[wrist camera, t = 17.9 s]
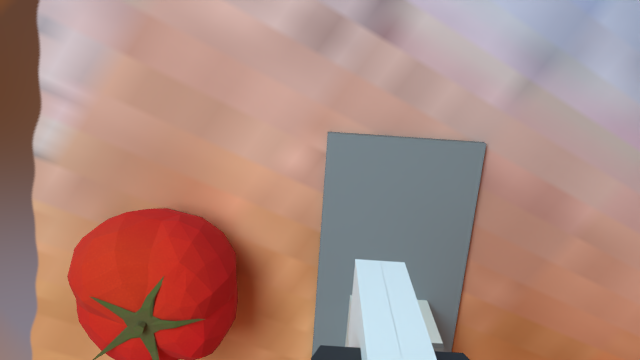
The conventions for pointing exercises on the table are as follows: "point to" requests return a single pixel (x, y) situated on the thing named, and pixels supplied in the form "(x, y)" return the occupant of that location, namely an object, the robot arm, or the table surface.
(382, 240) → the rubber mat
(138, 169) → the table surface
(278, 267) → the table surface
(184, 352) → the tomato
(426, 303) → the cream block
